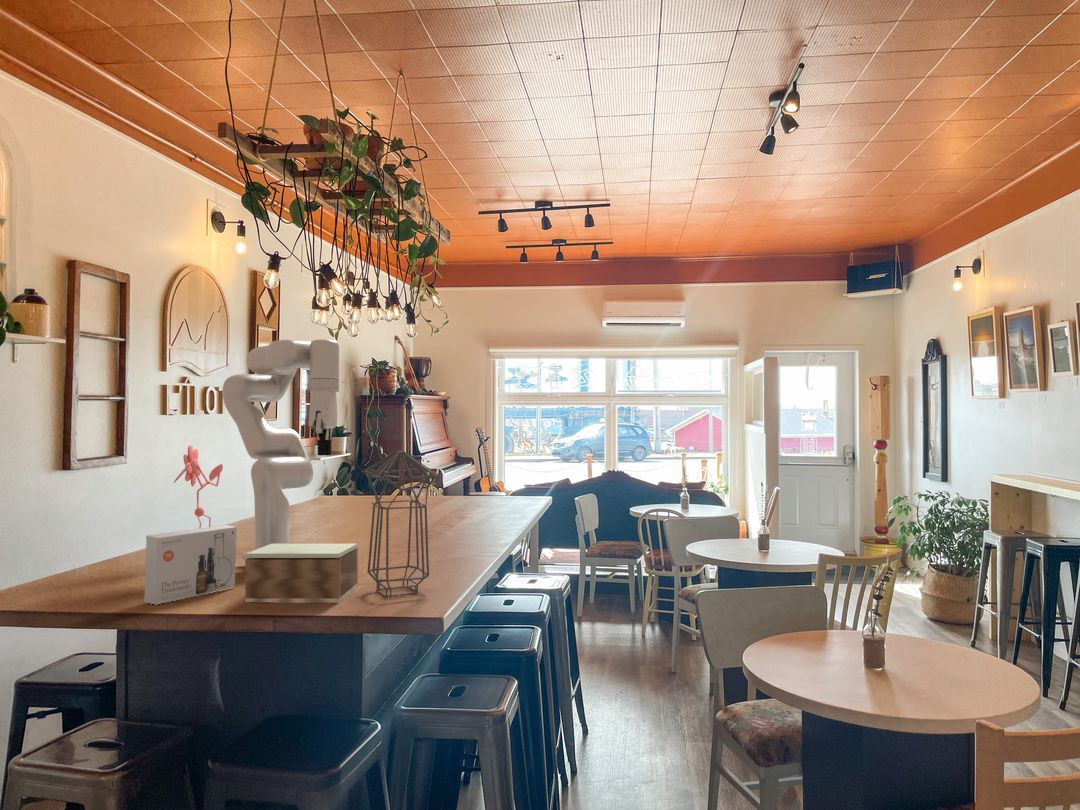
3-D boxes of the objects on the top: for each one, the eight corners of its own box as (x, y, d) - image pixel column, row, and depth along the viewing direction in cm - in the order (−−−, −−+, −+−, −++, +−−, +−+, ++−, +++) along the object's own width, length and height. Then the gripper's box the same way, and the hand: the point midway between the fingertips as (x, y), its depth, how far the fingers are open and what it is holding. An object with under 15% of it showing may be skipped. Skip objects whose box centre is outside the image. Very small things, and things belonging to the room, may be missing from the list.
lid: (245, 557, 173) (245, 553, 173) (271, 547, 189) (271, 543, 189) (339, 557, 172) (339, 553, 172) (357, 547, 188) (357, 543, 188)
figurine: (230, 552, 237) (228, 443, 238) (201, 569, 212) (198, 446, 212) (180, 554, 236) (178, 444, 236) (145, 571, 210) (142, 448, 210)
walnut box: (245, 602, 173) (245, 559, 173) (271, 586, 189) (271, 547, 189) (339, 602, 172) (339, 559, 172) (357, 587, 188) (357, 547, 188)
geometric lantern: (418, 582, 193) (420, 448, 193) (438, 597, 179) (441, 452, 179) (357, 588, 186) (360, 449, 186) (373, 604, 172) (376, 453, 172)
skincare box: (156, 606, 170) (156, 537, 170) (143, 603, 173) (143, 535, 173) (237, 588, 188) (237, 525, 188) (223, 585, 190) (224, 524, 191)
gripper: (319, 387, 205) (319, 453, 204) (300, 385, 190) (300, 456, 190) (346, 387, 205) (346, 453, 204) (329, 384, 190) (329, 456, 189)
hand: (324, 455), depth 197 cm, fingers closed
